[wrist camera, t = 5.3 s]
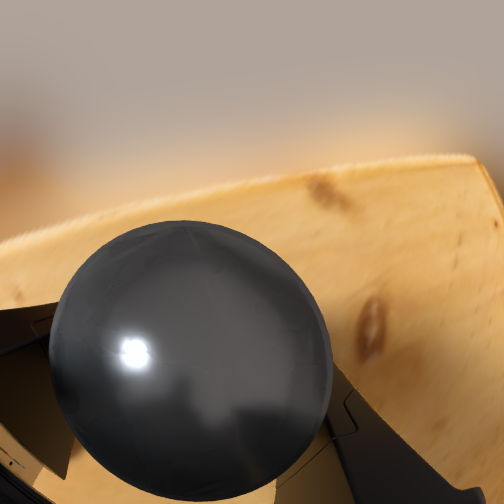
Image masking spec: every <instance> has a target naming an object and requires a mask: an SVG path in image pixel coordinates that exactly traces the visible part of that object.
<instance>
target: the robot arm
mask: <svg viewBox="0 0 504 504" xmlns="http://www.w3.org/2000/svg"><path fill="white" fill-rule="evenodd" d="M58 304H59V302H55V303H50V304H44V305H38V306H30V307H23V308H14V309H6V310H0V504H56V503H55V502H53V501H52V500H50V499H49V498H47V497H46V496H44V495H43V494H41V493H40V492H39V491H37V490H36V489H35V488H33V487H32V486H33V484H34V482H35V480H36V479H37V477H38V475H39V473H40V472H41V470H42V468H43V467H45V468H46V469H48V470H49V471H51V472H52V473H54V474H55V475H57V476H58V477H60V478H61V479H63V480H65V478H66V475H67V470H68V464H69V459H70V455H71V450H72V446H73V441H74V437H75V435H74V434H73V432H72V431H71V429H70V427H69V425H68V423H67V422H66V420H65V418H64V416H63V414H62V412H61V409H60V407H59V404H58V402H57V399H56V396H55V392H54V388H53V384H52V380H51V373H50V365H49V343H50V334H51V328H52V323H53V319H54V315H55V312H56V309H57V306H58ZM276 489H277V490H276V495H275V502H274V504H486V500H485V496H484V494H483V492H482V490H481V488H480V487H473V488H469V489H466V490H459V489H456V488H454V487H453V486H451V485H450V484H449V483H448V482H447V481H446V480H445V479H444V478H443V477H442V476H441V475H440V474H439V473H437V472H436V471H435V470H434V469H433V468H432V467H431V466H430V465H429V464H428V463H427V462H426V461H425V460H424V459H423V458H422V457H421V456H420V455H419V454H418V453H417V452H416V451H415V450H413V449H412V448H411V447H410V446H409V445H408V444H407V443H406V442H405V441H404V440H403V439H402V438H401V437H400V436H399V435H398V434H397V433H396V432H395V431H394V430H393V429H392V428H391V427H390V426H389V425H388V424H387V423H386V422H385V421H384V420H383V419H382V418H381V417H380V416H379V415H378V414H377V413H376V412H375V411H374V410H373V409H372V408H371V407H370V405H369V404H368V403H367V402H366V401H365V400H364V398H363V397H362V396H361V395H360V394H359V392H358V391H357V390H356V389H354V387H353V386H352V384H351V383H350V382H349V381H348V379H347V378H346V377H345V376H344V374H343V373H342V372H341V371H340V370H339V368H338V367H337V366H336V365H335V363H334V362H333V381H332V391H331V397H330V400H329V404H328V408H327V412H326V415H325V417H324V419H323V422H322V424H321V427H320V429H319V431H318V433H317V434H316V436H315V438H314V439H313V441H312V443H311V444H310V446H309V447H308V448H307V450H306V451H305V452H304V453H303V454H302V456H301V457H300V458H299V459H298V460H297V462H295V463H294V464H293V465H292V466H291V467H290V468H289V469H288V470H287V471H285V472H284V473H283V474H282V475H280V476H279V477H277V480H276Z"/></svg>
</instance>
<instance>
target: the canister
mask: <svg viewBox="0 0 504 504" xmlns="http://www.w3.org/2000/svg"><path fill="white" fill-rule="evenodd" d="M49 365H50V373H51V380H52V384H53V388H54V392H55V396H56V399H57V402H58V404H59V407H60V409H61V412H62V414H63V416H64V418H65V420H66V422H67V423H68V425H69V427H70V429H71V431H72V432H73V434H74V435H75V436H76V438H77V439H78V441H79V442H80V443H81V445H82V446H83V447H84V448H85V449H86V450H87V451H88V453H89V454H90V455H91V456H92V457H93V458H94V459H95V460H96V461H97V462H98V463H100V464H101V465H102V466H103V467H104V468H105V469H107V470H108V471H109V472H111V473H112V474H114V475H115V476H117V477H118V478H120V479H121V480H123V481H124V482H126V483H128V484H130V485H132V486H134V487H136V488H138V489H140V490H143V491H145V492H148V493H151V494H154V495H157V496H160V497H165V498H169V499H174V500H181V501H192V502H204V501H217V500H223V499H229V498H233V497H237V496H240V495H243V494H246V493H249V492H252V491H254V490H256V489H258V488H260V487H262V486H264V485H267V484H268V483H270V482H271V481H273V480H274V479H276V478H277V477H279V476H280V475H282V474H283V473H284V472H285V471H287V470H288V469H289V468H290V467H291V466H292V465H293V464H294V463H295V462H297V460H298V459H299V458H300V457H301V456H302V454H303V453H304V452H305V451H306V450H307V448H308V447H309V446H310V444H311V443H312V441H313V439H314V438H315V436H316V434H317V433H318V431H319V429H320V427H321V424H322V422H323V419H324V417H325V415H326V412H327V408H328V404H329V400H330V397H331V391H332V381H333V355H332V349H331V344H330V338H329V334H328V331H327V328H326V325H325V322H324V318H323V316H322V314H321V311H320V309H319V307H318V305H317V303H316V301H315V299H314V297H313V296H312V294H311V293H310V291H309V290H308V288H307V287H306V285H305V284H304V282H303V281H302V280H301V278H300V277H299V276H298V275H297V274H296V273H295V272H294V270H293V269H292V268H291V267H290V266H289V265H288V264H287V263H286V262H285V261H284V260H282V259H281V258H280V257H279V256H278V255H277V254H276V253H275V252H273V251H272V250H270V249H269V248H267V247H266V246H264V245H263V244H261V243H260V242H258V241H257V240H255V239H253V238H251V237H249V236H247V235H245V234H243V233H241V232H238V231H235V230H232V229H230V228H227V227H224V226H220V225H216V224H211V223H207V222H199V221H187V220H182V221H165V222H159V223H154V224H149V225H146V226H142V227H139V228H136V229H133V230H131V231H128V232H126V233H124V234H122V235H120V236H118V237H116V238H114V239H113V240H111V241H110V242H108V243H107V244H105V245H103V246H102V247H101V248H100V249H98V250H97V251H96V252H95V253H94V254H92V255H91V256H90V257H89V258H88V259H87V260H86V261H85V262H84V264H83V265H82V266H81V267H80V268H79V269H78V270H77V272H76V273H75V275H74V276H73V277H72V279H71V280H70V282H69V283H68V285H67V287H66V289H65V291H64V293H63V294H62V296H61V298H60V301H59V304H58V306H57V309H56V312H55V315H54V319H53V323H52V328H51V334H50V343H49Z"/></svg>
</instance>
